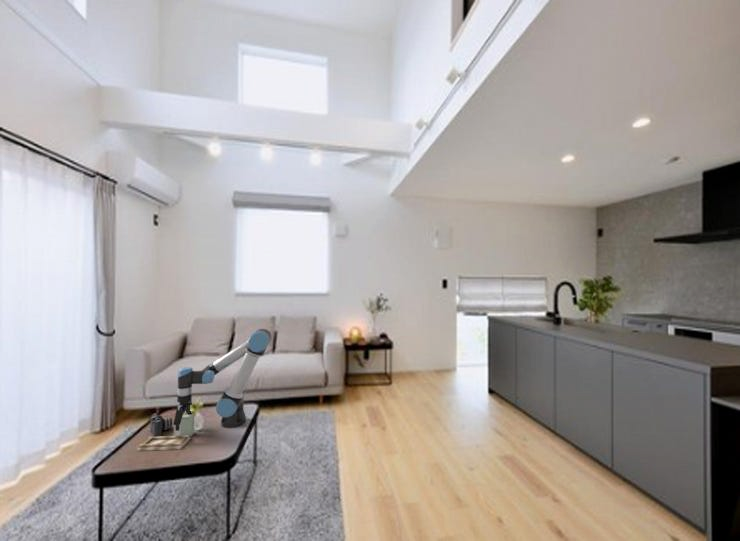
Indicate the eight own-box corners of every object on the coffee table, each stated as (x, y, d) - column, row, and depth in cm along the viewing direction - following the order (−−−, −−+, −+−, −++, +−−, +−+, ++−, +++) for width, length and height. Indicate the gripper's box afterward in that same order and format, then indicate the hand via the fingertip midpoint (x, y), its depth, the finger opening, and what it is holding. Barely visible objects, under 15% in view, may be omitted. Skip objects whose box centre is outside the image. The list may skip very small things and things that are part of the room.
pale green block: (193, 433, 198) (194, 414, 198) (191, 435, 194) (191, 417, 195) (176, 433, 197) (177, 415, 197) (173, 436, 193) (173, 417, 194)
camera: (174, 432, 198) (175, 416, 199) (153, 438, 191) (154, 421, 191) (168, 425, 209) (169, 409, 209) (148, 430, 201) (148, 414, 201)
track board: (190, 438, 191) (190, 434, 191) (180, 449, 179) (180, 444, 179) (150, 440, 189) (150, 435, 189) (137, 450, 177) (137, 446, 177)
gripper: (187, 387, 208) (186, 421, 207) (167, 401, 184) (165, 440, 183) (199, 387, 209) (198, 421, 208) (181, 401, 184) (179, 440, 183)
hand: (183, 430), depth 195 cm, fingers open, 13 cm apart
